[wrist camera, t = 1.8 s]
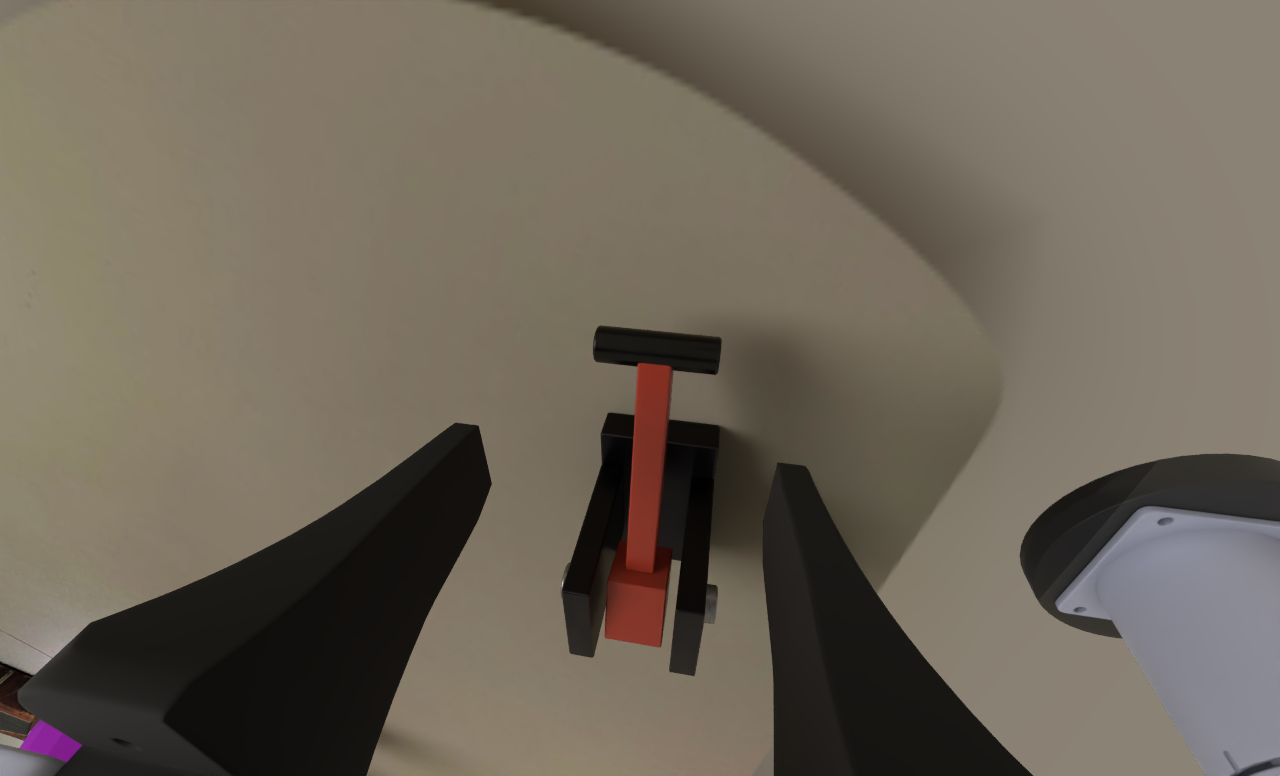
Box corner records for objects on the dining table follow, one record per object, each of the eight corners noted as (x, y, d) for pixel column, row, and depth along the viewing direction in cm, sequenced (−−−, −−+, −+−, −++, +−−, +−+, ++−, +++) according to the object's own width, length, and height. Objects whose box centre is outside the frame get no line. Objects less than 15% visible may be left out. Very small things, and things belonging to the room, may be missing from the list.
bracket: (596, 410, 23) (541, 558, 17) (731, 426, 22) (726, 586, 16) (601, 525, 28) (560, 673, 21) (713, 541, 27) (703, 699, 21)
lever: (605, 317, 18) (588, 335, 15) (722, 328, 17) (721, 349, 15) (596, 589, 22) (581, 634, 20) (688, 605, 22) (684, 652, 19)
